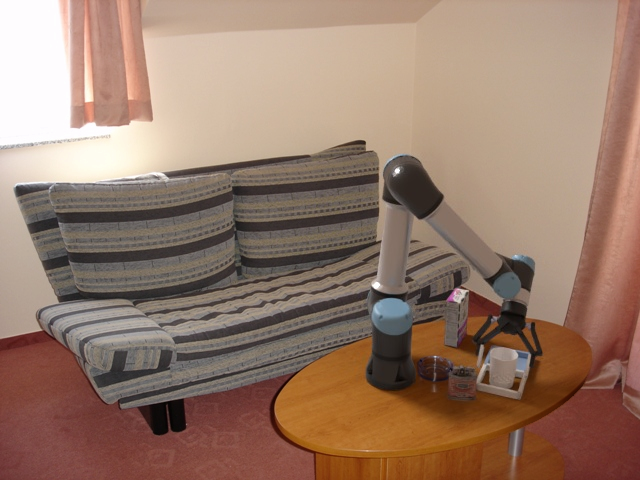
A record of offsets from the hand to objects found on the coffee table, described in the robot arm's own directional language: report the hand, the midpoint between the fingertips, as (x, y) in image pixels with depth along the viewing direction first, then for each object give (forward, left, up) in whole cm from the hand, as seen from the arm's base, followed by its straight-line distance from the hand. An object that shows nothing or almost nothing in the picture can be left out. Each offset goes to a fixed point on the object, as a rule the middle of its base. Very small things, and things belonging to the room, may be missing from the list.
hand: (501, 372), depth 187 cm
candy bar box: (-19, +23, -5) cm, 30 cm away
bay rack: (0, +8, -5) cm, 9 cm away
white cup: (0, +2, -5) cm, 6 cm away
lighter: (-9, -10, -5) cm, 14 cm away
